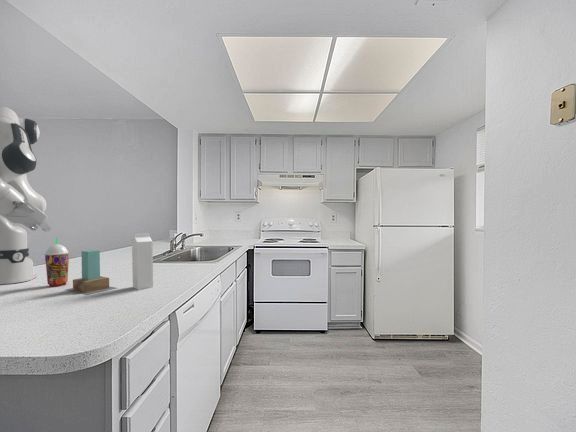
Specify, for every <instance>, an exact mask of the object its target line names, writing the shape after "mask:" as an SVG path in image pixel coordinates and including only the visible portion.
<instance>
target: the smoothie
mask: <svg viewBox="0 0 576 432" xmlns="http://www.w3.org/2000/svg"><path fill="white" fill-rule="evenodd" d="M69 257H70V251H69V250H68V248H67V247H66V246H64V245H63V244H59V240H58V237H56V238H55V244H52V245H50V246H49V247H48V248H47V249H46V251H45V253H44V260H45V261H44V262H45V269H46V279H47V280H46V282H47V285H48V286H49V287H51V288H53V287H54V288H55V287H62V286H66V285H67V283H68V280H69V264H70V263H69V262H70V260H69Z"/></svg>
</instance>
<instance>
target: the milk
mask: <svg viewBox="0 0 576 432" xmlns="http://www.w3.org/2000/svg"><path fill="white" fill-rule="evenodd" d="M133 235H134V237H133V239H132V240H131V252H132V253H131V260H132V263H131V265H132V267H131V268H132V288H134V289H136V290H143V289H150V288H154V266H153V265H154V264H153V263H154V260H153V259H154V257H153V255H154V254H153V250H154V249H153V244H154V243H153V242H154V241H153V240H152V238H151V234H150V232H140V233H139V232H138V233H137V232H136V233H134V234H133Z"/></svg>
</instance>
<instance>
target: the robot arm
mask: <svg viewBox="0 0 576 432" xmlns="http://www.w3.org/2000/svg"><path fill="white" fill-rule="evenodd" d="M40 134H41V131H40V128H39V125H38V123H37V122H36V121H35V120H33V119H30V118H21V117H18V114H17V113H16V112H15V111H14V110H13V109H11V108H9V107H7V106H1V105H0V285H8V284H15V283H16V284H18V283H22V282H28V281H32V280H33V279H36V278H38V275H37V274H35V272H34V271H35V270H34V262H33V260H32V259H31V258H30V257H29V256H30V250H29V249H30V248H29V247H28V233H27V230H26V229H25V228H23V227H21V226H19V225H16V224H21V225H23V226H24V227H26V228H29V229H30V230H31V231H36V230H37V229H38V228H39V226H40V228H41V229H42V231H44V232H47V233H48V232H50V231H51V230H52V228H51V226H50V225H49V224H48V223H47V220H48V218H49V217H48V215H47V214H46V213H45V212H46V210H47V205H48V204H47V201H46V198H44V196H42V195H41V194H39V192H37V191H35V190H34V189H33V188H32V186H31V184H30V182H29V180H28V177H27V173H28V174H29V173H30V172H33V171H35V169H36V167H37V157H36V156H35V153H34V152H33V150H32V145H34V144H35V143H37V142H38V140H39V138H40ZM11 222H12V223H11Z"/></svg>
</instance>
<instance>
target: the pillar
mask: <svg viewBox="0 0 576 432" xmlns="http://www.w3.org/2000/svg"><path fill="white" fill-rule="evenodd" d="M100 252H101V251H100V250H98V249H88V250H81V278H82V279H84V280H93V279H99V278H100V276H101V259H100V258H101V253H100Z"/></svg>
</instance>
